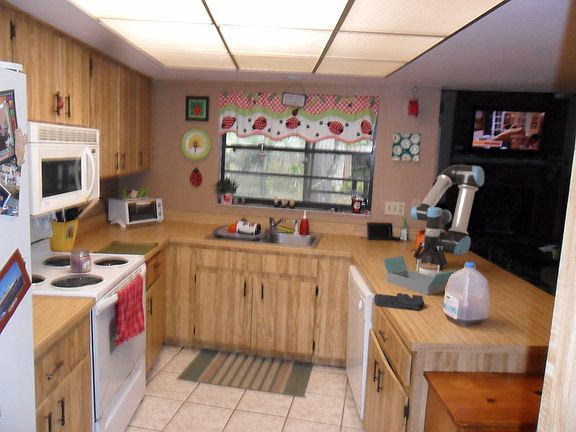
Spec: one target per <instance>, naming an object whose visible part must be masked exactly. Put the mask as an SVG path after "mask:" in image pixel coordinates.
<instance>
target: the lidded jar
mask: <svg viewBox="0 0 576 432" xmlns="http://www.w3.org/2000/svg"><path fill="white" fill-rule="evenodd" d="M437 271H438V265H434V264H431V263H429V264H428V263H422V264H419V271H418V273H421V274H425V275H428V276H432V277H434V276H435V275H436V274H437Z"/></svg>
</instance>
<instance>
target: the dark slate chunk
mask: <svg viewBox="0 0 576 432" xmlns="http://www.w3.org/2000/svg"><path fill="white" fill-rule="evenodd" d="M373 298H374V305H375V306H376V307H378V308H379V307H380V308H386V309H387V308H388V309H396V310H404V311H406V310H407V311H414V312H421V311H422V312H423V311H424V310H423V308H424V306H425V301H424V297H423V295H418V294H413V295H412V297H411V296H410V295H409V294H407V293H405V294H404V293H402V292H398V293H396V295H390V294H382V293H376V294H375V295H374V297H373Z"/></svg>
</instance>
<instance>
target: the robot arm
mask: <svg viewBox="0 0 576 432" xmlns="http://www.w3.org/2000/svg"><path fill="white" fill-rule="evenodd" d="M484 184H485V172H484V170H483V168H482V167H481V166H477V165H465V164H464V165H463V164H454V165H450V166H448V167H447V168H446V169H443V170H442V171H441V173H439V175H438V176H437V178H436V182H434V185H433V186H432V188H431V189H430V190H429V192H428V193H427V194H426V196H425V197H424V198H423V200H422V202H421V203H420V204H419V206H413V207H412V208H411V210H410V218H411V219H412V220H416V221H423V222H425V224H426V225H425V232H424V236H423V238H424V239H423V241H421V242H419V245H418V246H417V248H416V251H415V252H414V254H413V258H415V259H416V260H415V265H416V270H415V272H419V264H422V263H428V264H429V263H431V264H434V265H438V271H437V273H443V271H444V269H445V265H448V261H447V258H446V255H445V253H447V254H451V255H455V256H457V255H458V256H464V255H465V254H466V253H468V251H469V249H470V247H471V243H472V242H471V237H470V236H469V233H468V231H467V229H468V225H469V220H470V216H471V211H472V206H473V202H474V198H475V195H476V194H475V193H476V192H477V191H479V187H482V186H483V185H484ZM452 185H457V187H458V189H459V192H458V197H457V201H456V206H455V209H454V211H455V212H454V214H453V215H452V213H451V211H449V210H448V209H442V208H441V207H436V206H437V204H438V203H439V202H440V200H441V198H442V197H443V195H444V193H445V192H447V190H448V188H450V187H452ZM452 217H453V218H452ZM451 221H452V223H451V228H449V229H447V232H446V230H444V229H441V225H442V224H443V225H444V224H445V225H446V224H448V223H450V222H451Z"/></svg>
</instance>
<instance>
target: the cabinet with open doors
mask: <svg viewBox="0 0 576 432" xmlns="http://www.w3.org/2000/svg"><path fill="white" fill-rule="evenodd" d="M382 261H383V265H384V267H385V270H386V273H387V274H386V275H387V276H386V282H387V283H389V284H392V285H395V286H399V287H401V288H405V289H408V290H411V291H414V292H417V293H420V294H423V295H425V296H430V295H434V294H439V293H443V291H444V290H445V287H446V285H447V282H448V279H449V277H450V276H451V274H453V273H454V272H455V273H456V272H457V270H456V269H454V270H449V271H444V272H443V271H442V272H441V273H437V274H436V275H435V276H434V277H432V276H428V275H425V274H421V273H419V271H414V270H410V269H408V268H407V265H406V261H405V258H404V256H402V255H401V256H395V257H389V258H387V257H386V258H383V259H382ZM455 273H454V274H455ZM448 283H449V282H448ZM444 292H445V291H444Z"/></svg>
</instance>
